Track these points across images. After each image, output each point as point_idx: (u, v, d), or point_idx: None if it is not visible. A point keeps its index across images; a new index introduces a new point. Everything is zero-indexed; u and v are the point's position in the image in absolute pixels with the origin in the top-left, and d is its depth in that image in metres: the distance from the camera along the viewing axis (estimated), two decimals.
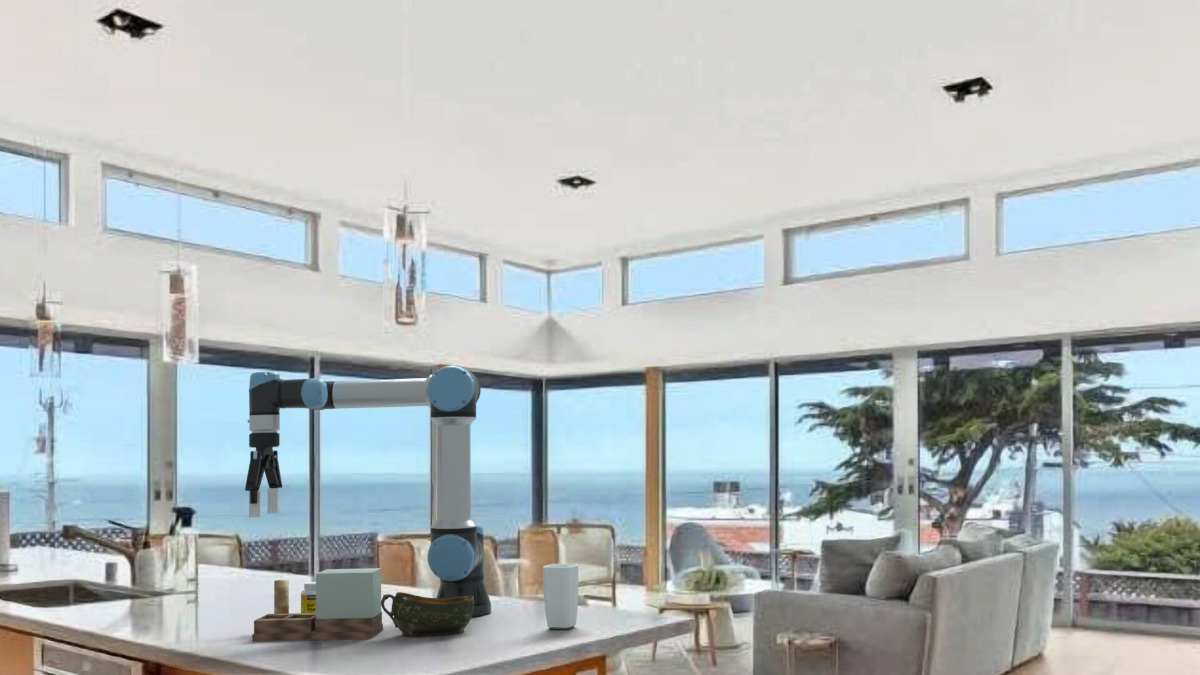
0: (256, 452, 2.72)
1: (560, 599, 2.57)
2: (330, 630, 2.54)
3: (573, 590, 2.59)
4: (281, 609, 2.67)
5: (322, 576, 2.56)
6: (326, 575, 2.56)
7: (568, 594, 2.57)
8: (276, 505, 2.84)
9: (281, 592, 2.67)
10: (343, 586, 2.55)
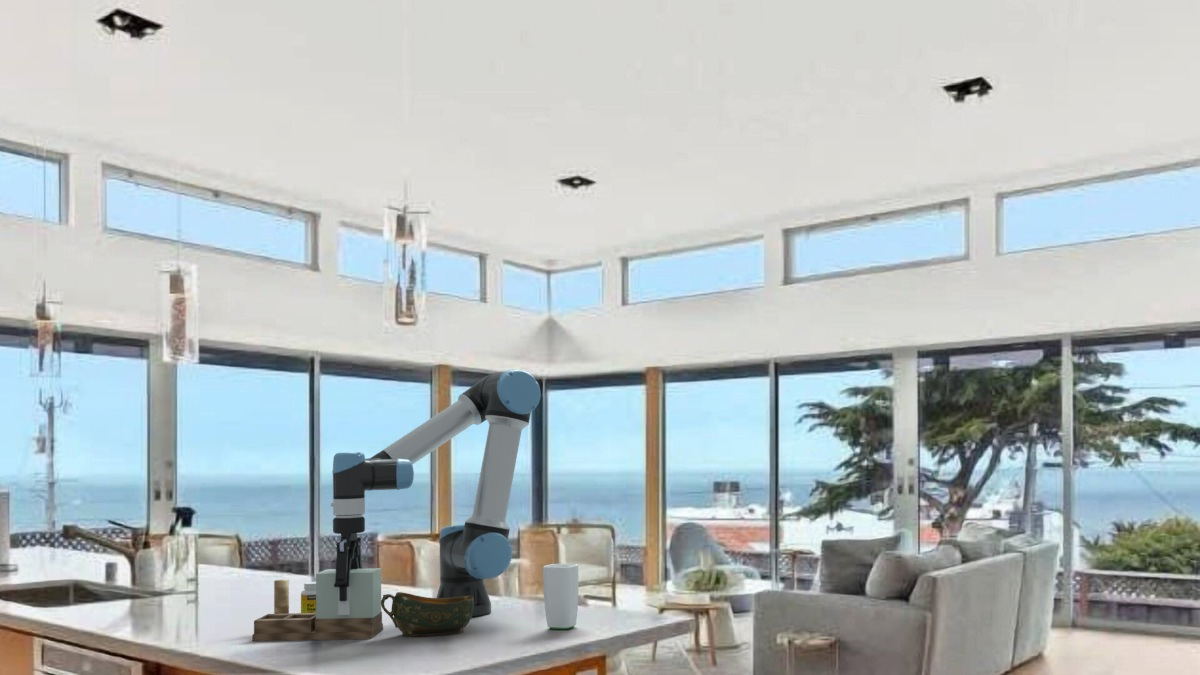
0: (342, 544, 2.54)
1: (560, 599, 2.57)
2: (330, 630, 2.54)
3: (573, 590, 2.59)
4: (281, 609, 2.67)
5: (322, 576, 2.56)
6: (326, 575, 2.56)
7: (568, 594, 2.57)
8: None
9: (280, 592, 2.67)
10: None
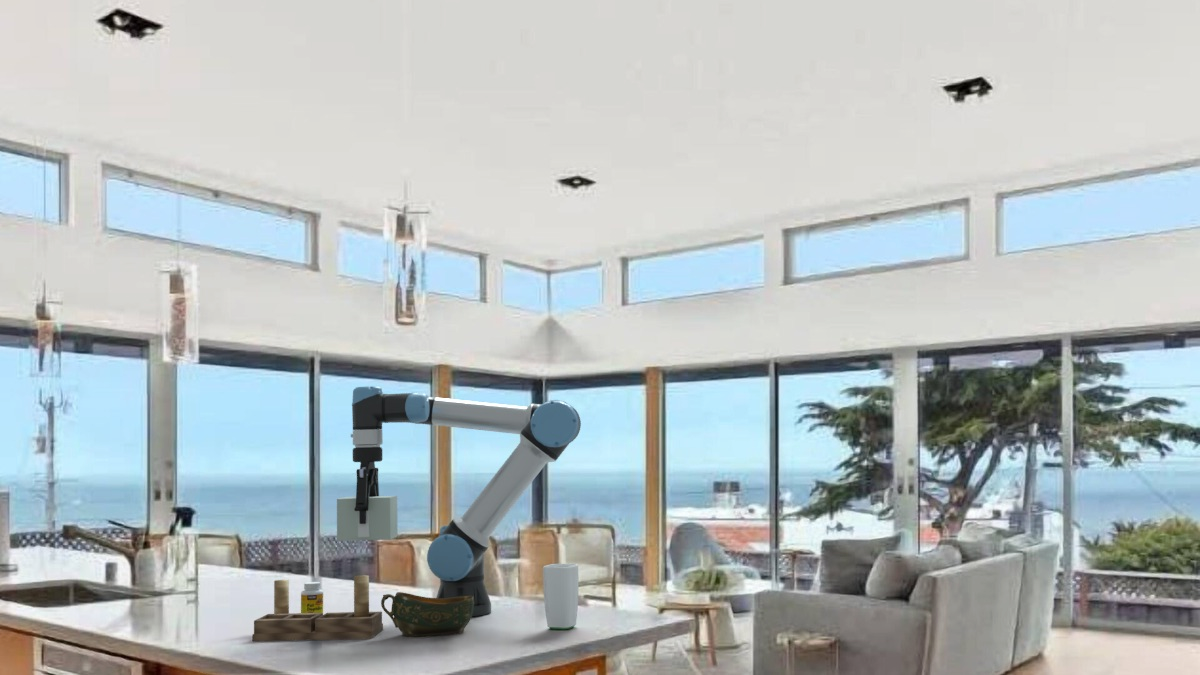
0: (362, 471, 2.71)
1: (560, 599, 2.57)
2: (330, 630, 2.54)
3: (573, 590, 2.59)
4: (281, 609, 2.67)
5: (342, 501, 2.73)
6: (346, 500, 2.73)
7: (568, 594, 2.57)
8: None
9: (281, 592, 2.67)
10: None
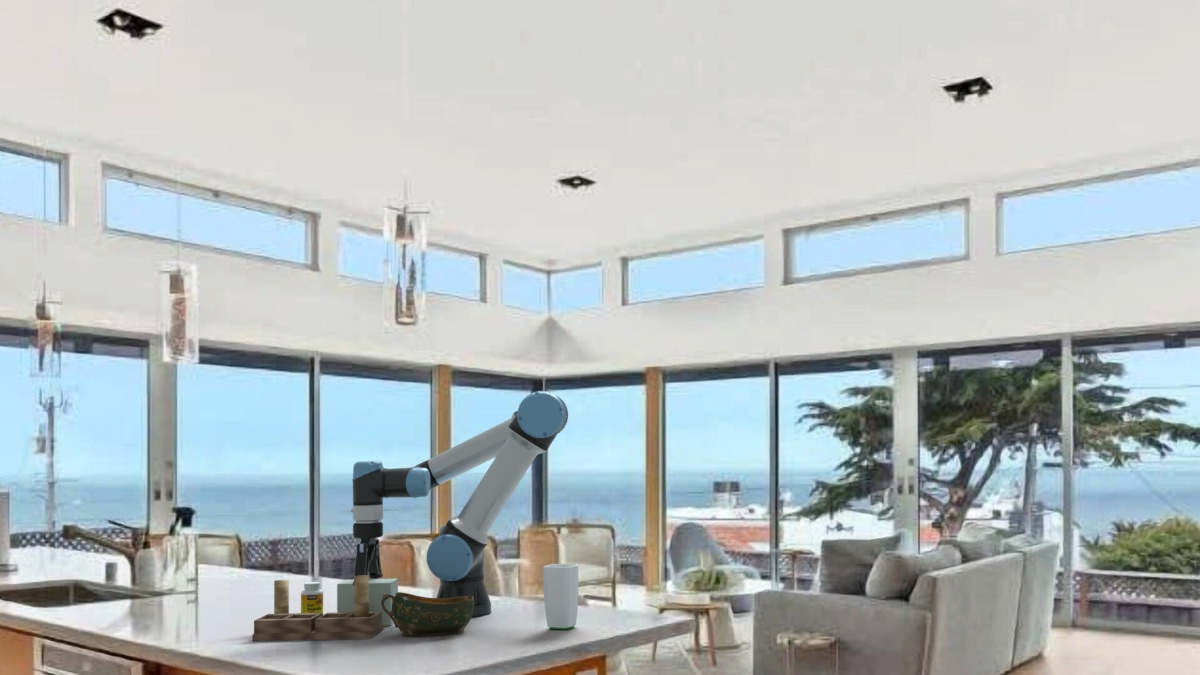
0: (362, 545, 2.69)
1: (560, 599, 2.57)
2: (330, 630, 2.54)
3: (573, 590, 2.59)
4: (281, 609, 2.67)
5: (343, 586, 2.71)
6: (346, 585, 2.71)
7: (568, 594, 2.57)
8: None
9: (280, 592, 2.67)
10: None
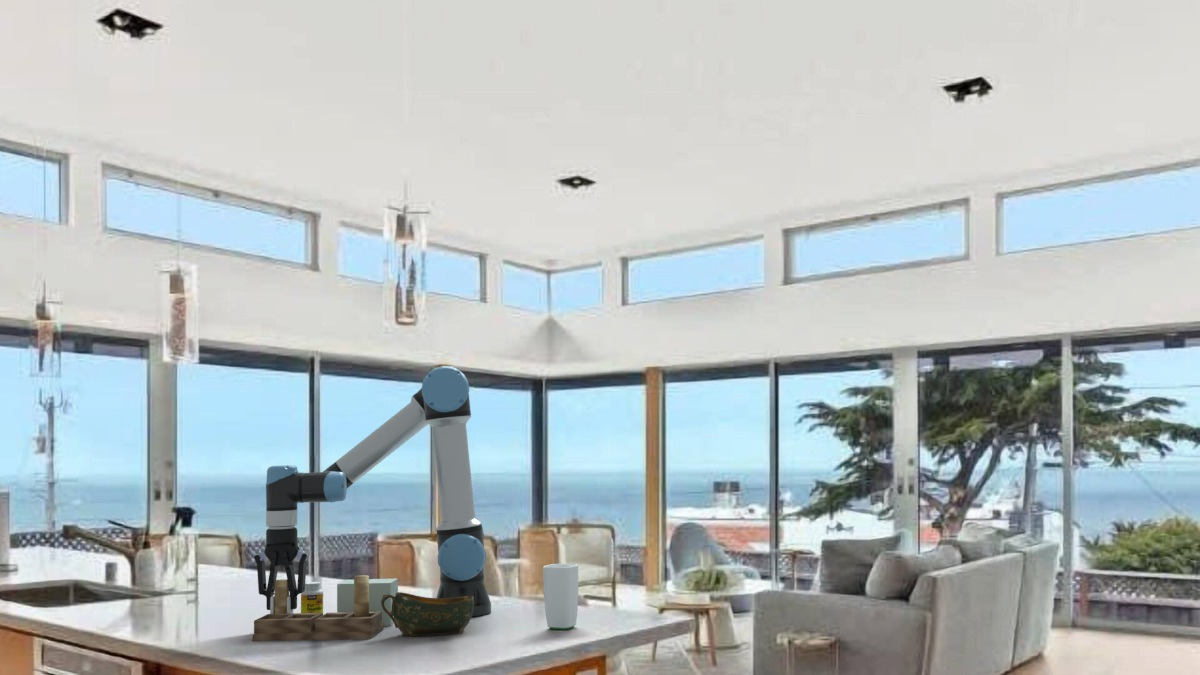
0: None
1: (560, 599, 2.57)
2: (330, 630, 2.54)
3: (573, 590, 2.59)
4: (281, 609, 2.67)
5: (343, 586, 2.71)
6: (346, 585, 2.71)
7: (568, 594, 2.57)
8: None
9: (281, 591, 2.67)
10: None
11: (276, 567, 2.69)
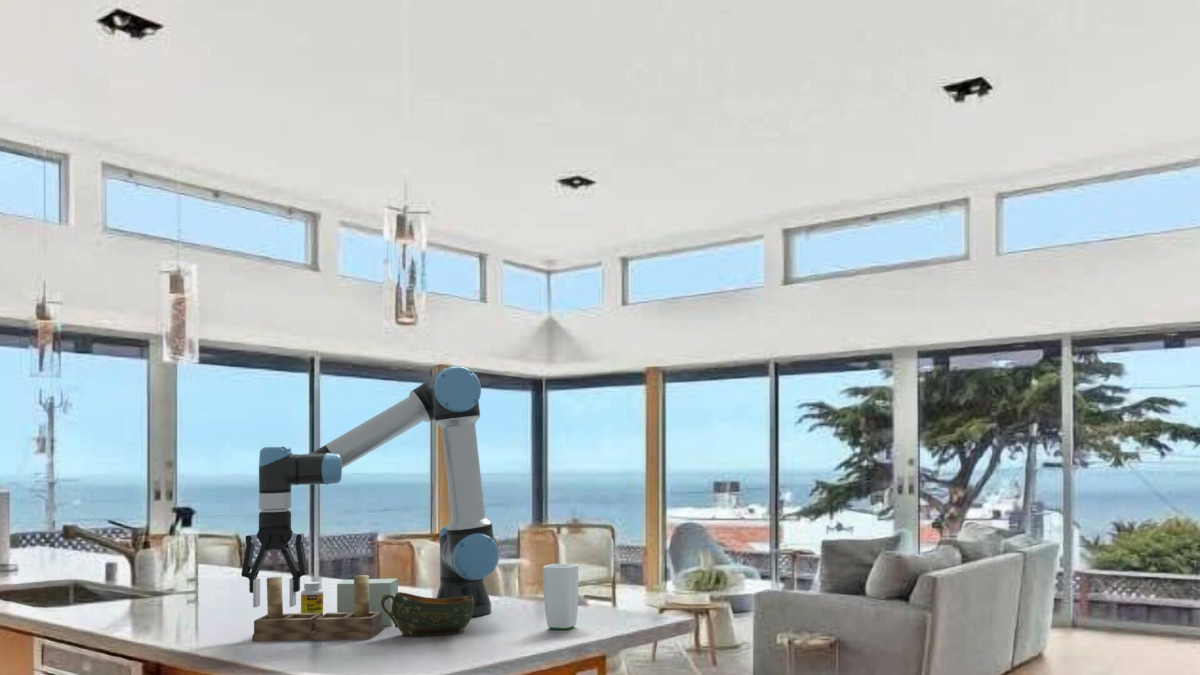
0: None
1: (560, 599, 2.57)
2: (330, 630, 2.54)
3: (573, 590, 2.59)
4: (275, 607, 2.58)
5: (343, 586, 2.71)
6: (346, 585, 2.71)
7: (568, 594, 2.57)
8: None
9: (273, 589, 2.58)
10: None
11: (266, 551, 2.61)
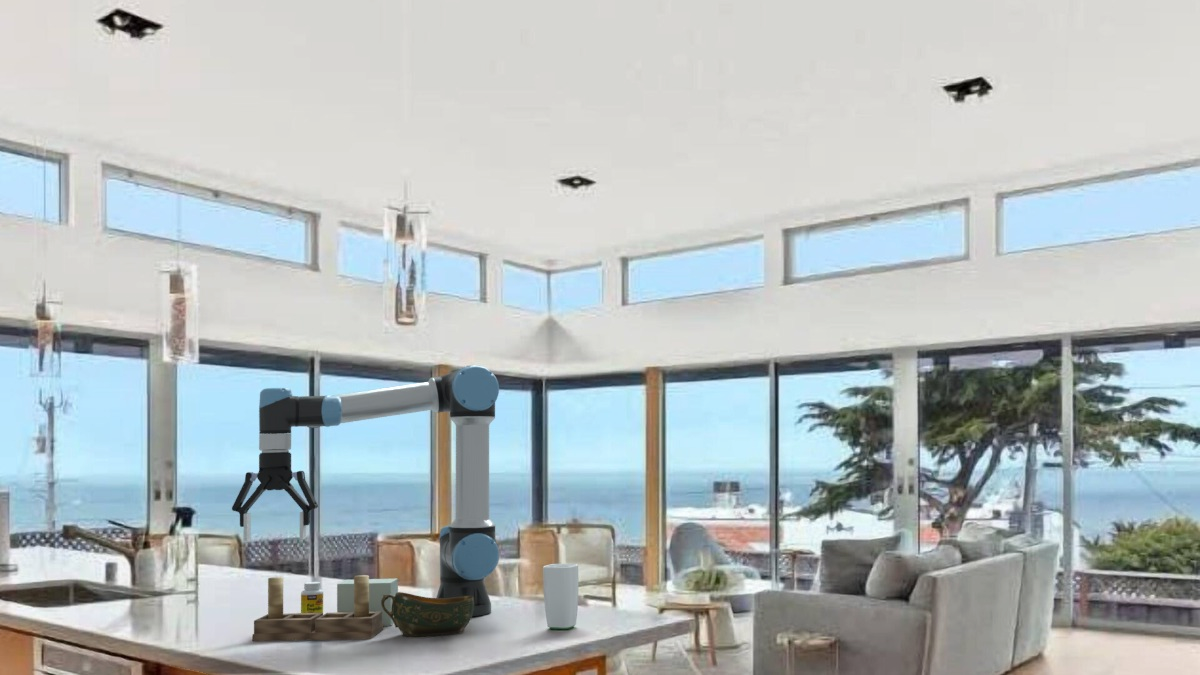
0: None
1: (560, 599, 2.57)
2: (330, 630, 2.54)
3: (573, 590, 2.59)
4: (275, 608, 2.58)
5: (343, 586, 2.71)
6: (346, 585, 2.71)
7: (568, 594, 2.57)
8: None
9: (275, 590, 2.58)
10: None
11: (262, 490, 2.62)
